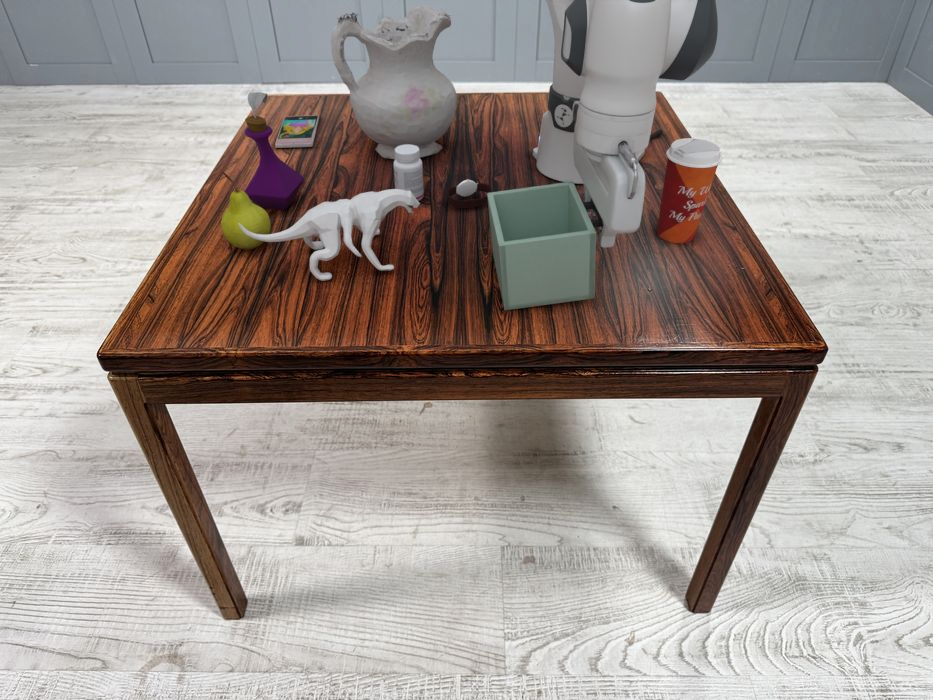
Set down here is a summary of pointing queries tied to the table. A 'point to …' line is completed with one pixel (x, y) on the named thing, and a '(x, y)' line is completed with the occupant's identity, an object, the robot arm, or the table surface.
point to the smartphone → (297, 131)
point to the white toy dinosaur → (343, 225)
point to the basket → (543, 245)
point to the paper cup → (686, 187)
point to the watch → (468, 194)
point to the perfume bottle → (269, 165)
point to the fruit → (244, 220)
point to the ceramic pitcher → (399, 81)
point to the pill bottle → (409, 170)
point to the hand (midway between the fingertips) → (597, 228)
